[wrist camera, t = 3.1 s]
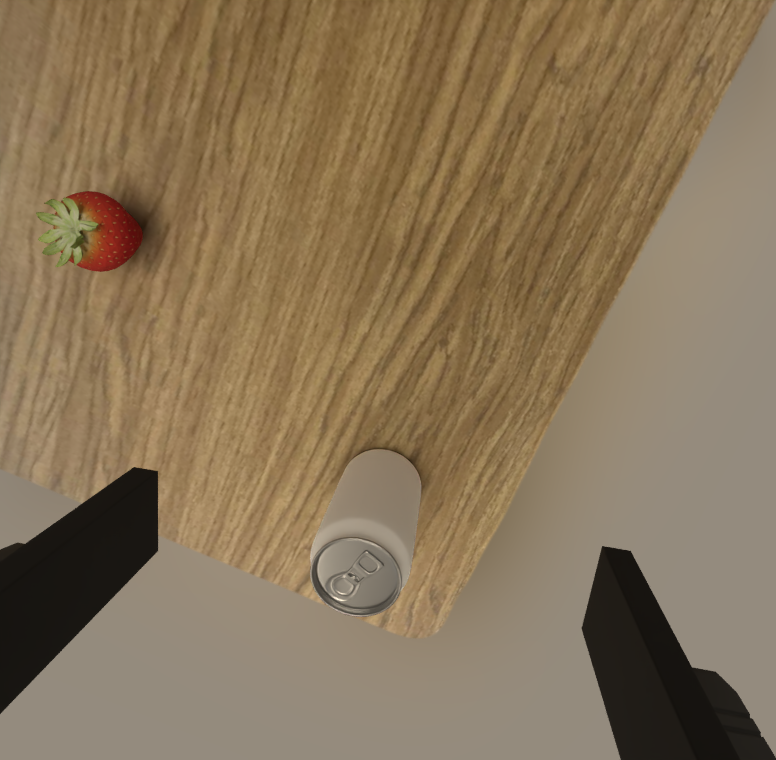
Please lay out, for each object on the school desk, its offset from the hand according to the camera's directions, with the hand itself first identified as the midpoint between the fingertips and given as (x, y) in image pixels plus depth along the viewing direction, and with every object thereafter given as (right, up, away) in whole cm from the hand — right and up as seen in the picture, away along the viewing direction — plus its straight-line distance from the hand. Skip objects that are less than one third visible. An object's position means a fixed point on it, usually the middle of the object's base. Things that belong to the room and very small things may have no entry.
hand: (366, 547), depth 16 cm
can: (0, -3, +28) cm, 29 cm away
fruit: (-18, +16, +25) cm, 35 cm away
